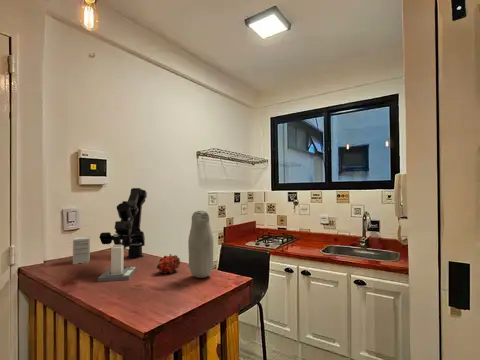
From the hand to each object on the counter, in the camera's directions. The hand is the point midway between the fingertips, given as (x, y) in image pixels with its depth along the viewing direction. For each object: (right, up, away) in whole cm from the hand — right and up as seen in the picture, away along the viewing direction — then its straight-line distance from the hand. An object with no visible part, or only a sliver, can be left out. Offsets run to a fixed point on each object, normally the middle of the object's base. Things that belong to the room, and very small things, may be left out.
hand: (119, 253), depth 119 cm
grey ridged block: (-30, -11, +23) cm, 39 cm away
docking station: (0, -9, -1) cm, 9 cm away
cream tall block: (0, -8, -3) cm, 8 cm away
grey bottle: (+37, -9, -4) cm, 38 cm away
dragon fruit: (+21, -9, +3) cm, 23 cm away
